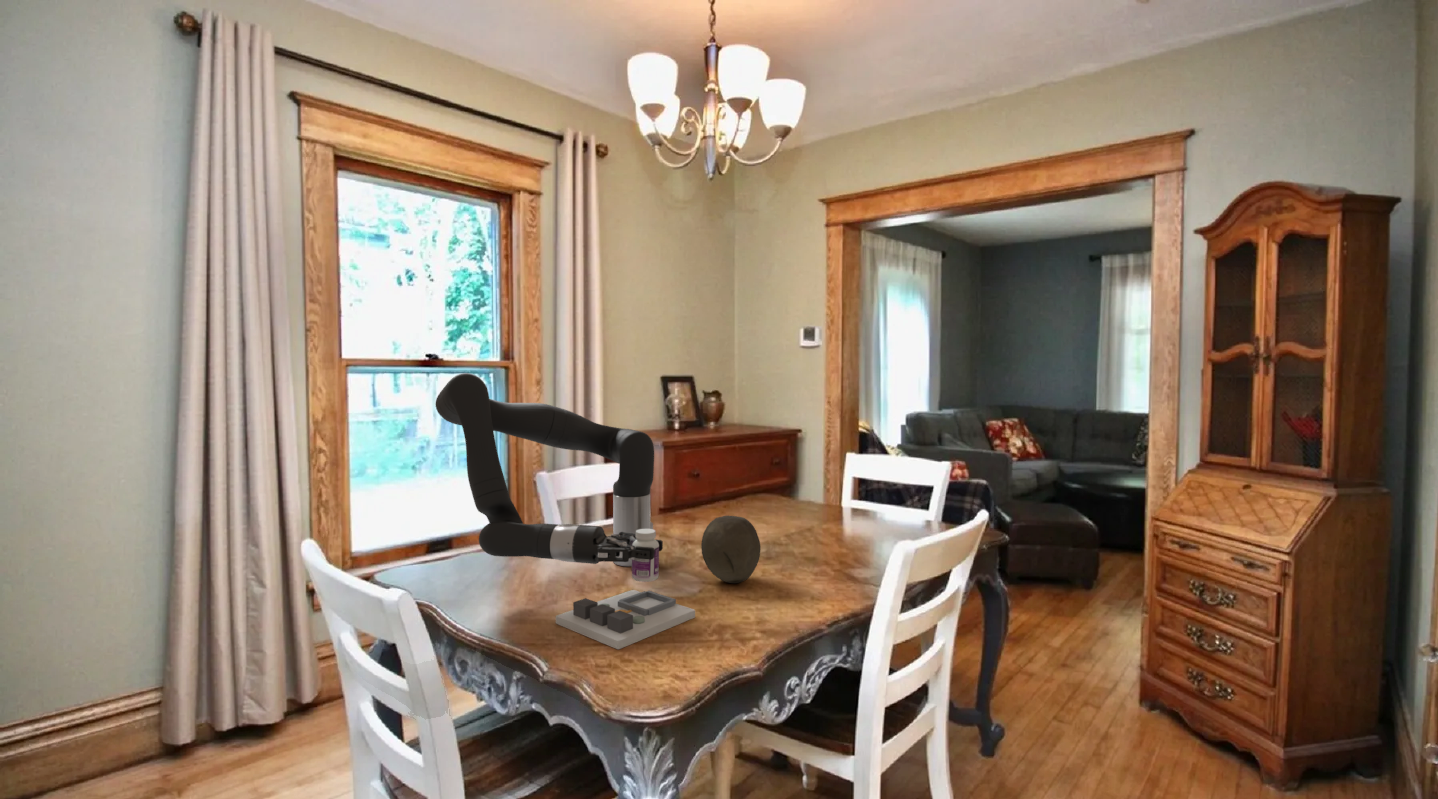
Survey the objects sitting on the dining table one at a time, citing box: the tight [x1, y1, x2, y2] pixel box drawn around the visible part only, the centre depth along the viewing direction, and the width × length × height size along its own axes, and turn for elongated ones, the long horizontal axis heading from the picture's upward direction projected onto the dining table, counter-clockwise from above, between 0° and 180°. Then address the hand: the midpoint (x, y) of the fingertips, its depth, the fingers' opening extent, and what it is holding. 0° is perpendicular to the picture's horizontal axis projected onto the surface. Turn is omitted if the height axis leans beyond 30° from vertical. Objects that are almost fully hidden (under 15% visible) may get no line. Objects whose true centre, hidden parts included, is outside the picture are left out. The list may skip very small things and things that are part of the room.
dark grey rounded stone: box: [700, 515, 761, 584], centre depth 156 cm, size 14×14×15 cm
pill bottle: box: [631, 528, 660, 583], centre depth 136 cm, size 5×5×10 cm
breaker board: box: [555, 589, 696, 650], centre depth 132 cm, size 20×18×4 cm
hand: (657, 549), depth 135 cm, fingers closed on pill bottle, 5 cm apart
